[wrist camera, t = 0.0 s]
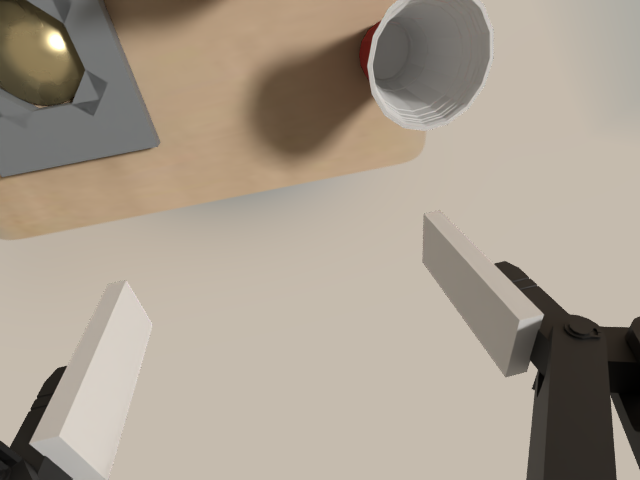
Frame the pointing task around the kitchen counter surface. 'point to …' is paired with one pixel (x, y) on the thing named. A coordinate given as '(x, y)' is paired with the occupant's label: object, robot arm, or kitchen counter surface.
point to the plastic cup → (428, 60)
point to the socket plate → (65, 87)
